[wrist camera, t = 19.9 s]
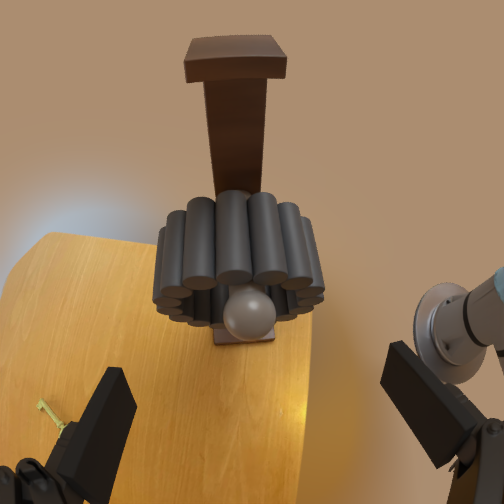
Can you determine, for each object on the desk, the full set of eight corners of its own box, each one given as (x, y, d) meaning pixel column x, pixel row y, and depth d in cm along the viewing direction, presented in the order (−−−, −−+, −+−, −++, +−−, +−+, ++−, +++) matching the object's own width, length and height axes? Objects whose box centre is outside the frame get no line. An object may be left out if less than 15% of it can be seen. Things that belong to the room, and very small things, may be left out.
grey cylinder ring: (293, 327, 23) (356, 271, 14) (164, 328, 21) (138, 267, 12) (286, 275, 26) (335, 198, 16) (166, 273, 23) (152, 186, 14)
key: (44, 396, 36) (38, 395, 34) (88, 430, 34) (82, 430, 32) (36, 423, 32) (30, 423, 30) (80, 458, 31) (74, 460, 29)
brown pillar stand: (212, 301, 48) (148, 41, 12) (268, 296, 49) (312, 33, 12) (217, 382, 41) (32, 239, 4) (279, 376, 42) (462, 209, 5)
